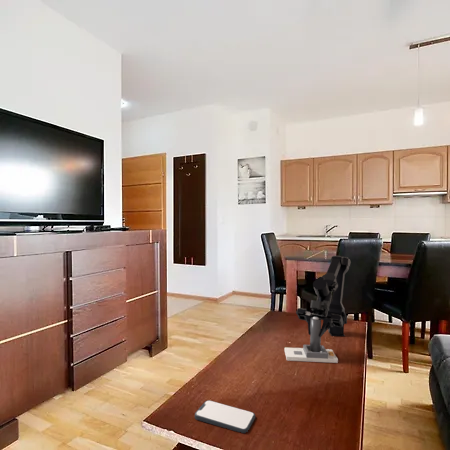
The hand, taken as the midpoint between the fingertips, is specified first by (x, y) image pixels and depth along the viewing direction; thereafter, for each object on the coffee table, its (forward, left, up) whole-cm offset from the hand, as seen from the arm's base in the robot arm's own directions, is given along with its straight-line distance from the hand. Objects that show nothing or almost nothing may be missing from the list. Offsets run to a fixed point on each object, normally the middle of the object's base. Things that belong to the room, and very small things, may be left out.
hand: (314, 335), depth 131 cm
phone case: (+33, +43, -10) cm, 55 cm away
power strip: (+1, -2, -9) cm, 10 cm away
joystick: (-1, -1, -7) cm, 7 cm away
